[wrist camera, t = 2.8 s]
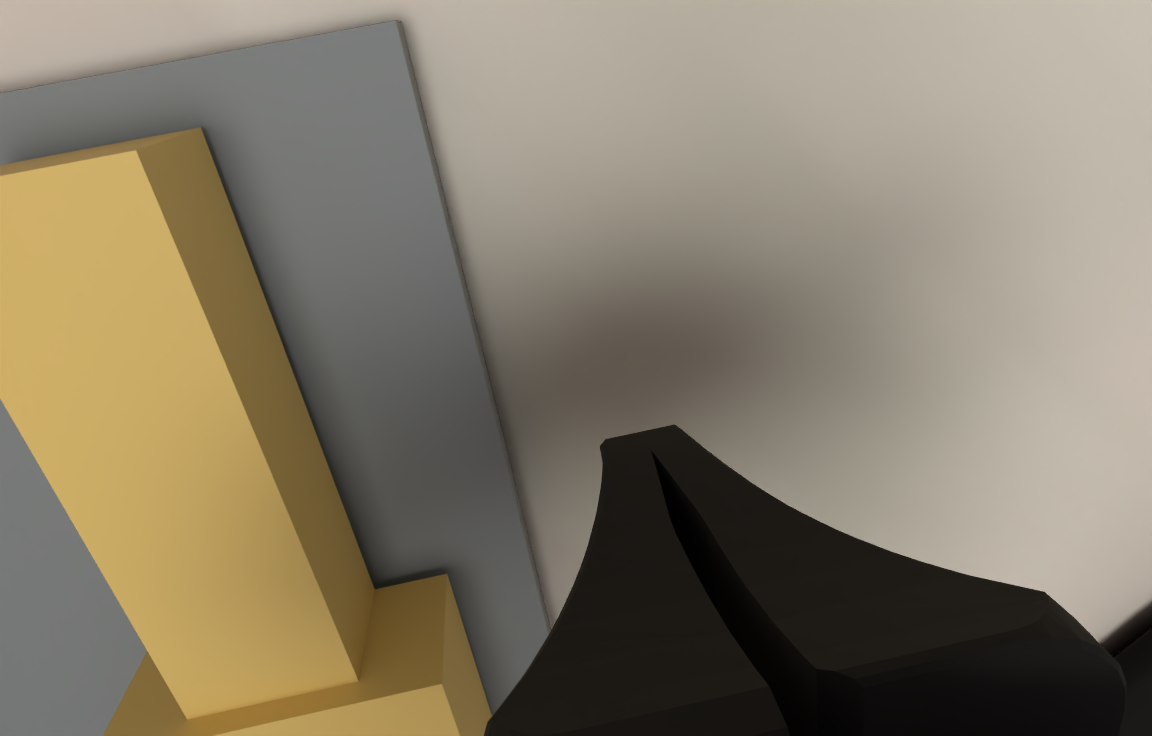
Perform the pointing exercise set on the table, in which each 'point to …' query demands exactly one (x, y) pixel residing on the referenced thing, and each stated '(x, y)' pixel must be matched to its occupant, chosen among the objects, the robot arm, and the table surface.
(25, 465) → the base
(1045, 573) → the table surface
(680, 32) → the table surface
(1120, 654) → the desk fan
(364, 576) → the link
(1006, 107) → the table surface
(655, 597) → the robot arm
